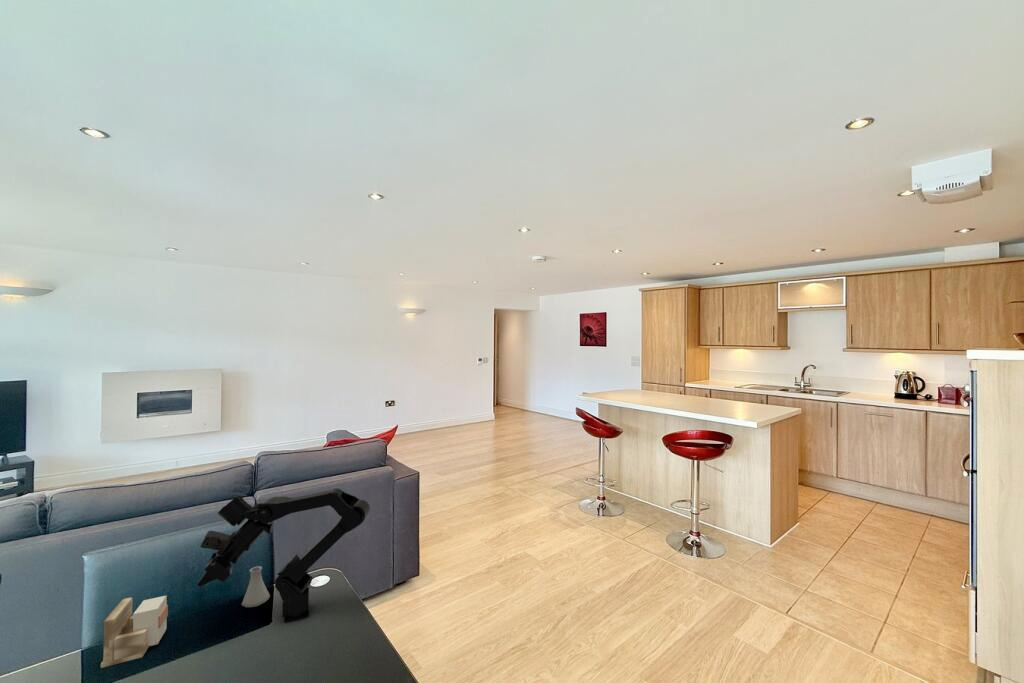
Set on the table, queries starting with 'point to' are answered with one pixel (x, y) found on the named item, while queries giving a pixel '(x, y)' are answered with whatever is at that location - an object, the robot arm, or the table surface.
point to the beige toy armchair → (122, 636)
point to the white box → (152, 618)
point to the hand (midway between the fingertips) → (198, 585)
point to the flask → (255, 589)
